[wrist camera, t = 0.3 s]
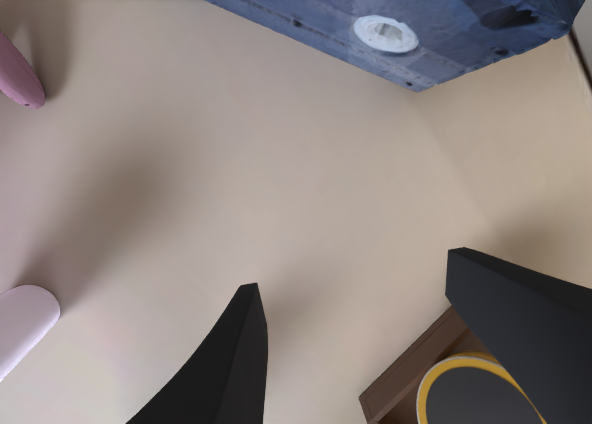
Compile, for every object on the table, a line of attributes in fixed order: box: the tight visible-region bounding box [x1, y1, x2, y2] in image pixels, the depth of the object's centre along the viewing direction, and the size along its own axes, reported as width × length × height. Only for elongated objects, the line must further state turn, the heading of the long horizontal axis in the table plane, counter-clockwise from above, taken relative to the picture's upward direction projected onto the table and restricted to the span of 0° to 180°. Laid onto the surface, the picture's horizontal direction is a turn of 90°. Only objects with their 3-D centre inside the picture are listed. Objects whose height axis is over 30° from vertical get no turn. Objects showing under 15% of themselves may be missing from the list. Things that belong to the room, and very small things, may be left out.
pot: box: [416, 350, 547, 424], centre depth 18 cm, size 8×10×10 cm
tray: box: [359, 306, 492, 424], centre depth 24 cm, size 15×13×2 cm
